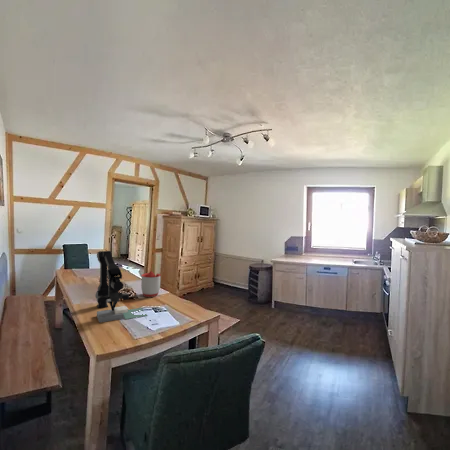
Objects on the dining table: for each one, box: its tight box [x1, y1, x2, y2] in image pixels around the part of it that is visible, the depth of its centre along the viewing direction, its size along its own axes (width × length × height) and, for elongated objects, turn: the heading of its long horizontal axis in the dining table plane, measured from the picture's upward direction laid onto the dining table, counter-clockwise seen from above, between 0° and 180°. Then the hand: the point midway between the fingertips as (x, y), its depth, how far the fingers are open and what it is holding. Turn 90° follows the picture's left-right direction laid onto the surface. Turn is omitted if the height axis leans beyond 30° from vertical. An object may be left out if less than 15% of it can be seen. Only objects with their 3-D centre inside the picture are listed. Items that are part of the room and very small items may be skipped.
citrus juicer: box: [140, 271, 162, 298], centre depth 228 cm, size 16×17×20 cm
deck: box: [96, 308, 124, 324], centre depth 177 cm, size 12×14×3 cm
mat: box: [123, 307, 148, 320], centre depth 185 cm, size 16×14×1 cm
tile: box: [114, 305, 129, 314], centre depth 180 cm, size 7×8×2 cm
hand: (112, 310), depth 177 cm, fingers closed
